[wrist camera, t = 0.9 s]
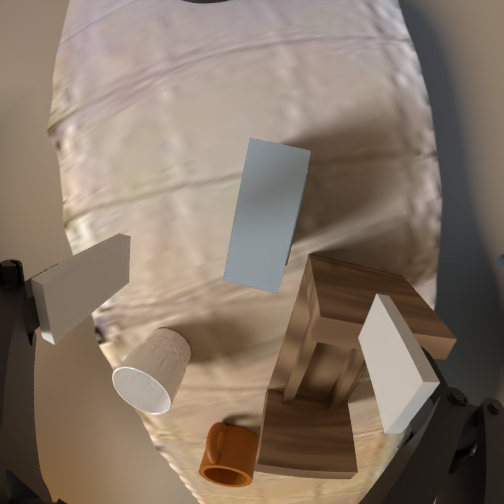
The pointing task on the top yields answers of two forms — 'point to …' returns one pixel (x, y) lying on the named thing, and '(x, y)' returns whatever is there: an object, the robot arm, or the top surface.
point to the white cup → (153, 371)
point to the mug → (229, 455)
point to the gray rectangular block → (266, 214)
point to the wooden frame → (331, 367)
